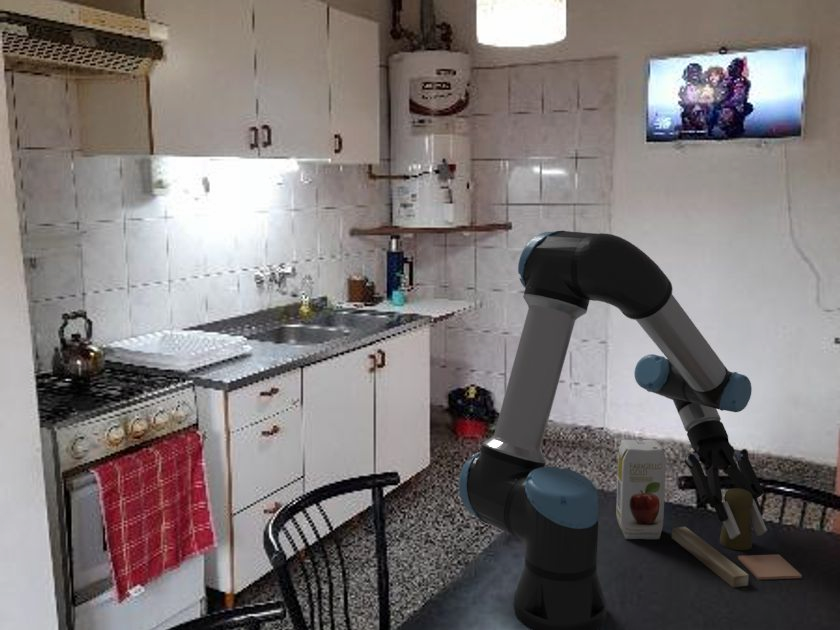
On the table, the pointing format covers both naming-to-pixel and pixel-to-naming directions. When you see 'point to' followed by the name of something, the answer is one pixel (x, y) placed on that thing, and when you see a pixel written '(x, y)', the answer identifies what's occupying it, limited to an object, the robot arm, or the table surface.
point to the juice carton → (641, 489)
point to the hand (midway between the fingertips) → (748, 534)
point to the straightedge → (710, 557)
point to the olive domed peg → (738, 519)
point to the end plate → (769, 567)
